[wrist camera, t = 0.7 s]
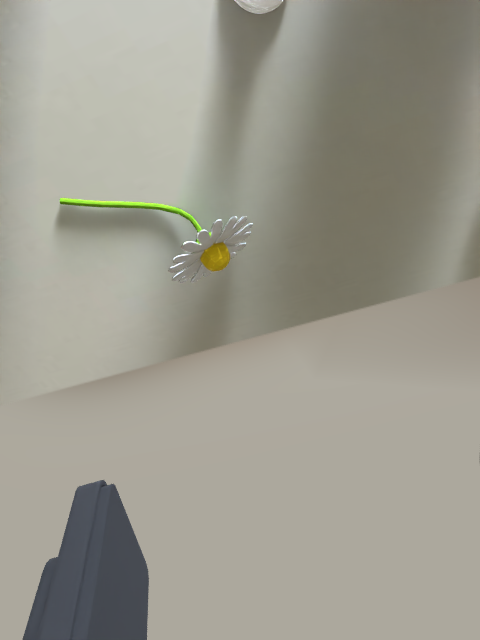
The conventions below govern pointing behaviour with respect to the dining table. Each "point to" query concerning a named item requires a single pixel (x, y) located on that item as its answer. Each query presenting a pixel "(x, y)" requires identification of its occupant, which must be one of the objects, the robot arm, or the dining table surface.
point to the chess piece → (259, 5)
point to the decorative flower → (206, 251)
